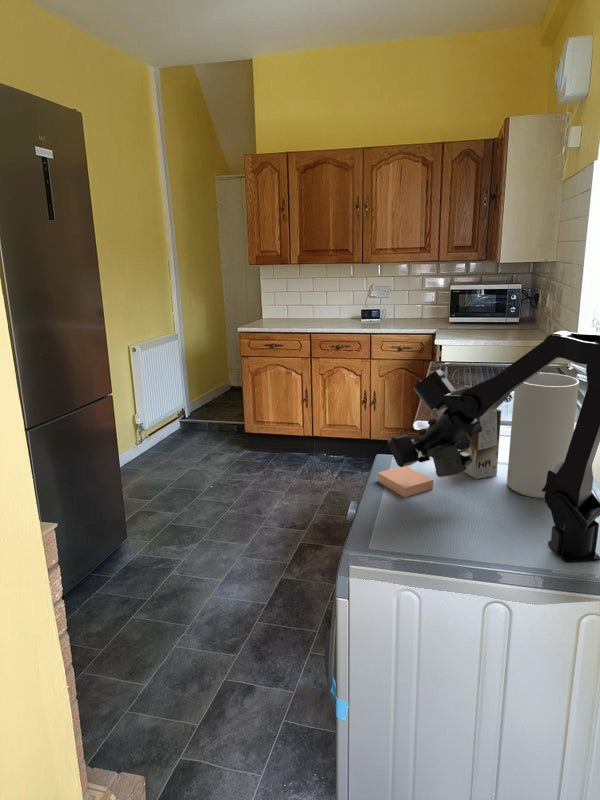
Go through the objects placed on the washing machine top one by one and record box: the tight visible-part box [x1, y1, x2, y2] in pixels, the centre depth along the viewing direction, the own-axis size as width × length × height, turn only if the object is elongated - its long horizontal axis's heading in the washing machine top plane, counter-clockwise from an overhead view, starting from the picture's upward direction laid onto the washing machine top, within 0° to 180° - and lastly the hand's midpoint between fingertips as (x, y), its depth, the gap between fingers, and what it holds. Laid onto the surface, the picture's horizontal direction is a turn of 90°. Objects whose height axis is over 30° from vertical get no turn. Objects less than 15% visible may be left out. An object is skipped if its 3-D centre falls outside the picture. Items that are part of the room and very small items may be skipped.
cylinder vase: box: [506, 372, 580, 499], centre depth 125 cm, size 12×12×25 cm
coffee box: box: [462, 408, 502, 480], centre depth 136 cm, size 9×6×16 cm
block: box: [377, 466, 434, 498], centre depth 131 cm, size 3×8×10 cm
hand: (411, 461), depth 128 cm, fingers closed
